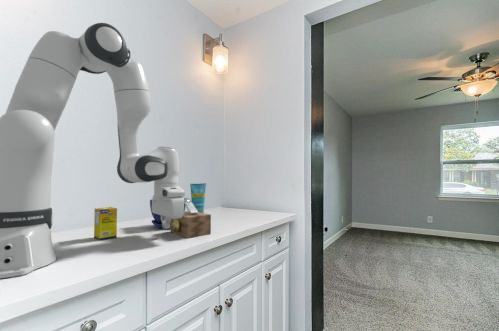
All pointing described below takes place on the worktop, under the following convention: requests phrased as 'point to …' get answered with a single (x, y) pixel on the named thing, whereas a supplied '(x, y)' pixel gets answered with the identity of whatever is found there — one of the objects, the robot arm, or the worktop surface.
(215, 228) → the worktop surface
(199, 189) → the tube
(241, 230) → the worktop surface
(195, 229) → the block
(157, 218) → the flower pot
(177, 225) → the pin
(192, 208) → the keeper
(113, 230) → the supplement box
